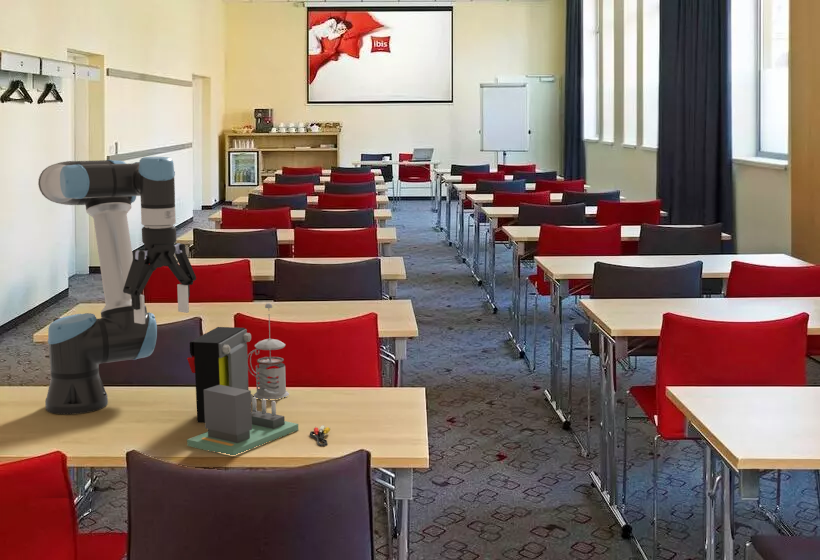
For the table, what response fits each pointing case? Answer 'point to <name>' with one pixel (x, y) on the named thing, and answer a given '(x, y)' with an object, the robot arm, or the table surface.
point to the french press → (270, 370)
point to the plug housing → (227, 409)
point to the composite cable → (320, 435)
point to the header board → (245, 445)
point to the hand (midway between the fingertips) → (162, 317)
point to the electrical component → (219, 362)
